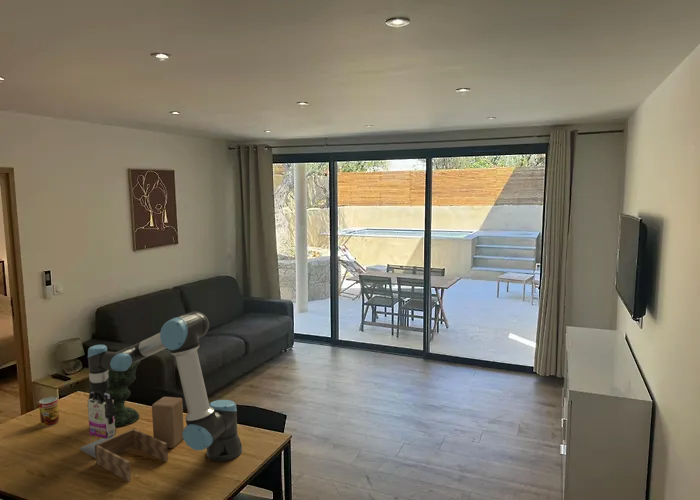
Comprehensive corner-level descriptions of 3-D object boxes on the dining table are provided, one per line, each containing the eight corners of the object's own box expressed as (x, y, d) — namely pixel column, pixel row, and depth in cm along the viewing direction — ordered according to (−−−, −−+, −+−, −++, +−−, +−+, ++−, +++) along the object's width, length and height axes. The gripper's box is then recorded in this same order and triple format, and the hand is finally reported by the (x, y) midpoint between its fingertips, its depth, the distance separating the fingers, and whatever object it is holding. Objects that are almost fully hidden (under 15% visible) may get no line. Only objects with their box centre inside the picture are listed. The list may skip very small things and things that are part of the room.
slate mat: (127, 445, 220) (127, 443, 220) (96, 459, 209) (96, 456, 209) (110, 436, 228) (110, 434, 228) (80, 449, 217) (80, 447, 216)
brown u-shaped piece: (167, 461, 207) (167, 443, 206) (128, 481, 192) (127, 462, 191) (135, 445, 220) (134, 428, 219) (96, 463, 205) (94, 445, 205)
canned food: (45, 428, 237) (43, 404, 236) (37, 424, 241) (35, 401, 240) (62, 421, 244) (60, 398, 242) (54, 418, 248) (52, 395, 247)
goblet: (121, 433, 232) (118, 372, 228) (83, 427, 238) (79, 368, 234) (152, 413, 253) (149, 357, 249) (116, 408, 259) (113, 353, 255)
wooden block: (173, 449, 216) (171, 406, 214) (153, 447, 218) (150, 404, 216) (185, 438, 226) (183, 397, 224) (165, 436, 228) (163, 395, 226)
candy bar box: (116, 434, 218) (114, 399, 216) (107, 439, 213) (105, 403, 212) (98, 429, 222) (96, 395, 220) (89, 434, 218) (86, 399, 216)
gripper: (122, 383, 211) (125, 430, 214) (93, 372, 225) (96, 416, 227) (105, 388, 205) (109, 437, 208) (76, 377, 218) (80, 423, 221)
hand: (102, 426), depth 217 cm, fingers closed on candy bar box, 12 cm apart
